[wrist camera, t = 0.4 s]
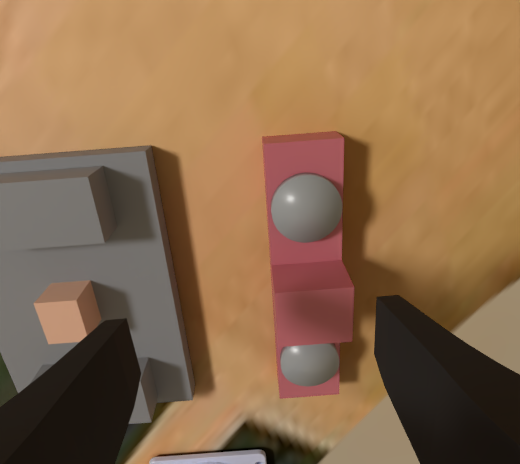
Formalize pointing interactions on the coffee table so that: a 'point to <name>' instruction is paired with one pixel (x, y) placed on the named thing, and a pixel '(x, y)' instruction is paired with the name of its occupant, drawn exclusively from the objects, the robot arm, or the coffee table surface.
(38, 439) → the robot arm
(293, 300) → the frame bar
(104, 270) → the display stand
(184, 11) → the coffee table surface
